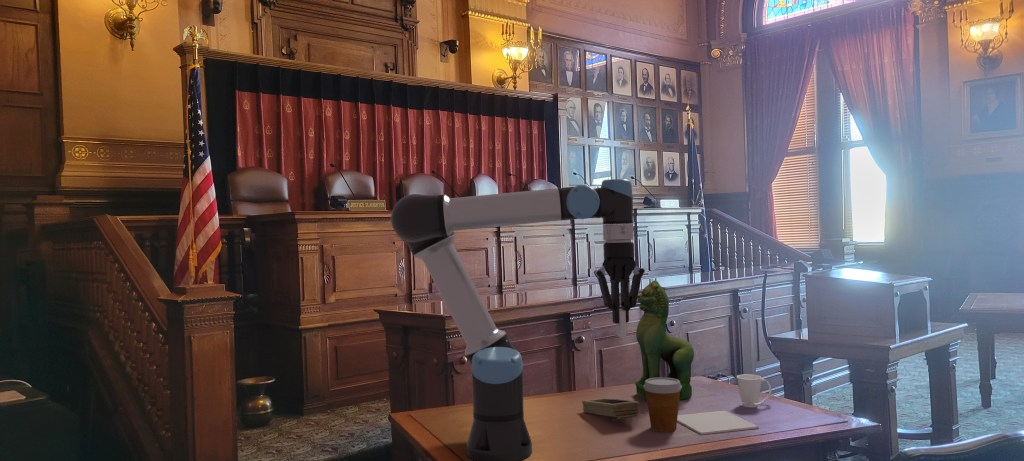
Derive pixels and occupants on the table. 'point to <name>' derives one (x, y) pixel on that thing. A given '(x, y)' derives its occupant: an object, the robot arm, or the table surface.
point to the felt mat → (714, 422)
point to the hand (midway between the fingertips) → (621, 336)
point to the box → (611, 407)
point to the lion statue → (661, 342)
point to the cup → (751, 389)
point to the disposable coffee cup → (663, 403)
